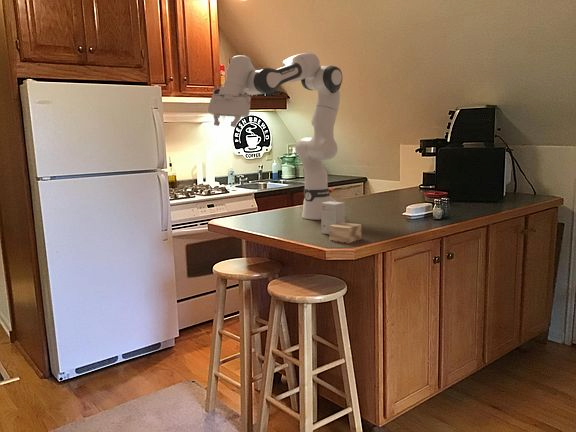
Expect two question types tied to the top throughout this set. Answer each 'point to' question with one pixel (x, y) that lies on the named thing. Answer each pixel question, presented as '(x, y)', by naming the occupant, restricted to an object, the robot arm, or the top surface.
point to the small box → (331, 214)
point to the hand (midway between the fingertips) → (224, 125)
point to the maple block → (345, 232)
